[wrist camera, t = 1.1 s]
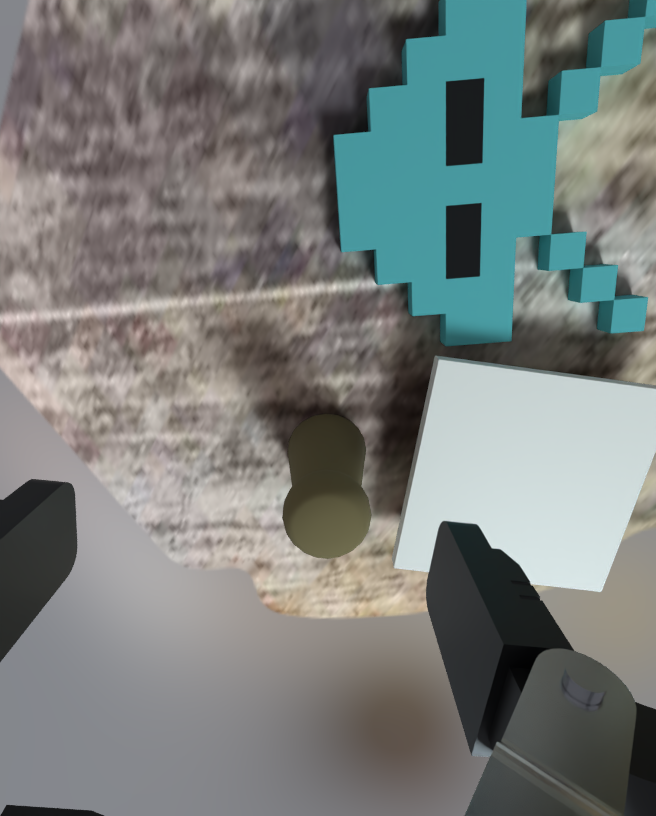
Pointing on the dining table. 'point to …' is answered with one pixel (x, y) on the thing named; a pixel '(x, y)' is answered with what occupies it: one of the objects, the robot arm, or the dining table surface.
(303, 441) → the cork
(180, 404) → the dining table surface
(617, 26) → the alien figure
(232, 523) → the dining table surface
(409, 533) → the peg shelf
